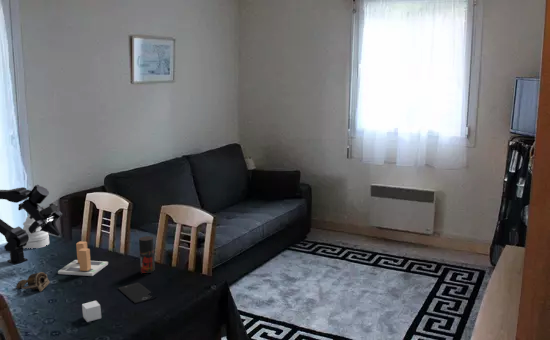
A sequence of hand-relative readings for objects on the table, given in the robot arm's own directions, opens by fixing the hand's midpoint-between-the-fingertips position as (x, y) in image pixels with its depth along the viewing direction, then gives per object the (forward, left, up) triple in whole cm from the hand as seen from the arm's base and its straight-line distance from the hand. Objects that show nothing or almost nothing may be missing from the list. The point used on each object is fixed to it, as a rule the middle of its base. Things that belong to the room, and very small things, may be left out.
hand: (59, 235), depth 243 cm
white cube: (+57, -25, -14) cm, 64 cm away
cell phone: (+54, -2, -14) cm, 56 cm away
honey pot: (-35, +9, -14) cm, 39 cm away
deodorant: (+40, +16, -14) cm, 45 cm away
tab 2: (+19, -1, -12) cm, 22 cm away
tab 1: (+10, +5, -12) cm, 16 cm away
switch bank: (+14, +2, -14) cm, 19 cm away
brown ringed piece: (+15, -22, -14) cm, 30 cm away
